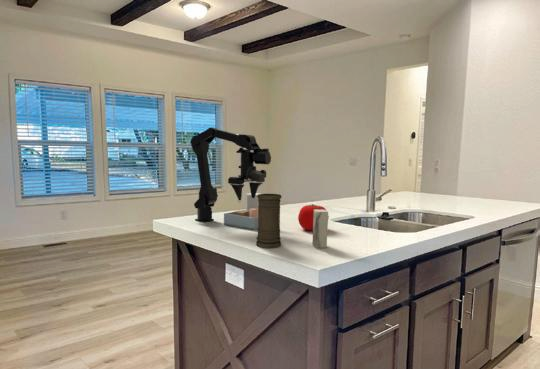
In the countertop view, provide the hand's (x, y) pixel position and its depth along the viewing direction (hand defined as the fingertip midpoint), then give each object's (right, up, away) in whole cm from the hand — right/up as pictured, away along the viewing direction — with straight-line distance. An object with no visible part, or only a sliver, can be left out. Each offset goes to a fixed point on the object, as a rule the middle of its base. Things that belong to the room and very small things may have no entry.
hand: (246, 199), depth 167 cm
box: (+28, -16, -33) cm, 46 cm away
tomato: (+29, -13, -5) cm, 32 cm away
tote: (+1, -12, +2) cm, 12 cm away
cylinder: (+4, -11, 0) cm, 12 cm away
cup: (+3, -10, +19) cm, 22 cm away
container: (+10, -15, -32) cm, 37 cm away
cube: (-3, -11, +5) cm, 12 cm away
